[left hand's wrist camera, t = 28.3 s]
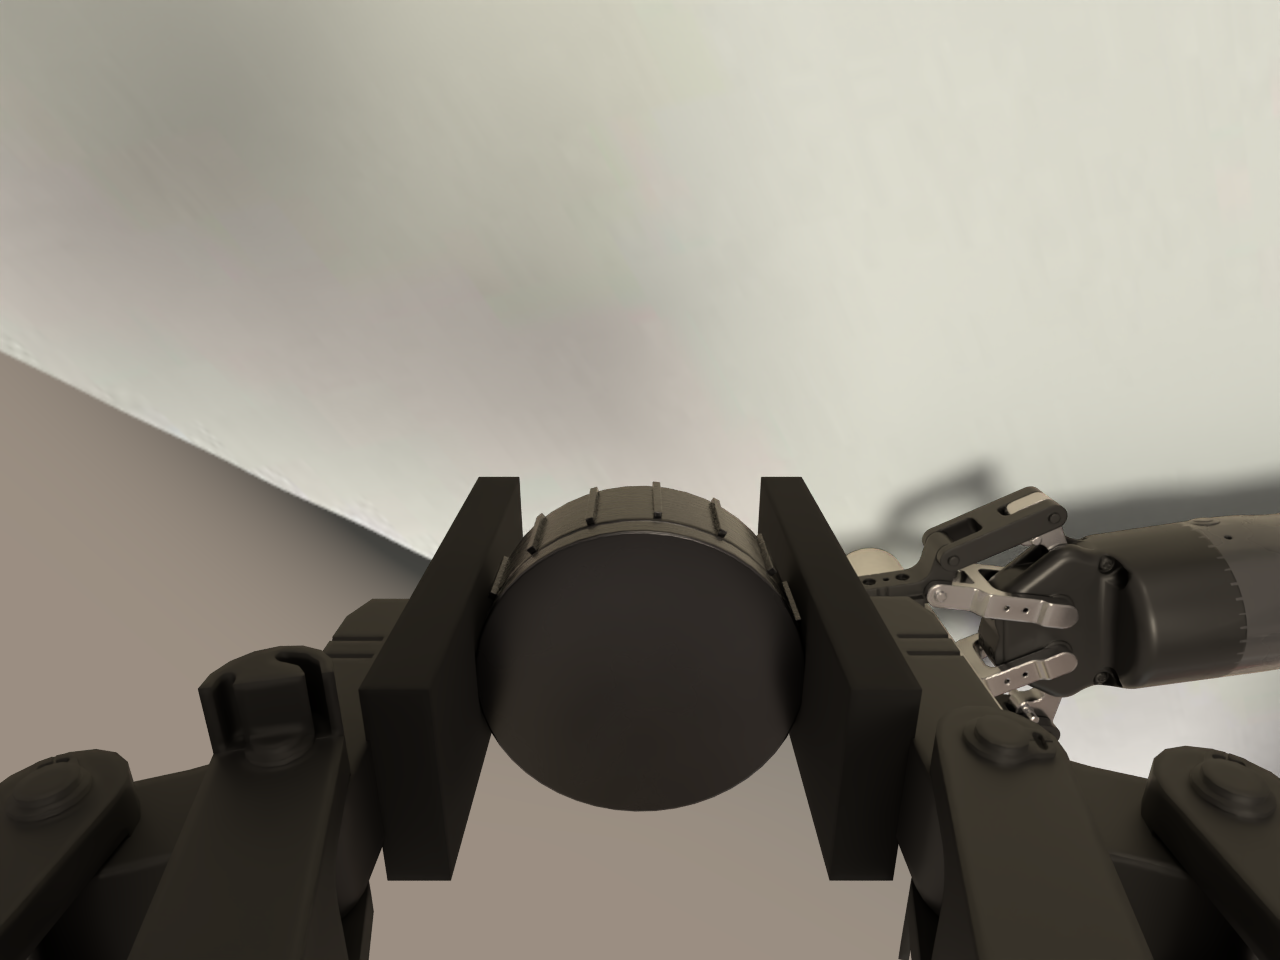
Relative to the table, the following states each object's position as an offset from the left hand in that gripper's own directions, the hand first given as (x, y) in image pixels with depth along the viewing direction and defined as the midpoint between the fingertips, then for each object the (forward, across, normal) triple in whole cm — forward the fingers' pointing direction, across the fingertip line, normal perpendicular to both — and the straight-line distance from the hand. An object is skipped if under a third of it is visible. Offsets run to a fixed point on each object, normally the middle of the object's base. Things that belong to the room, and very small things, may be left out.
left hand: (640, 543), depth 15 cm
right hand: (+20, +10, -15) cm, 27 cm away
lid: (-4, 0, 0) cm, 4 cm away
